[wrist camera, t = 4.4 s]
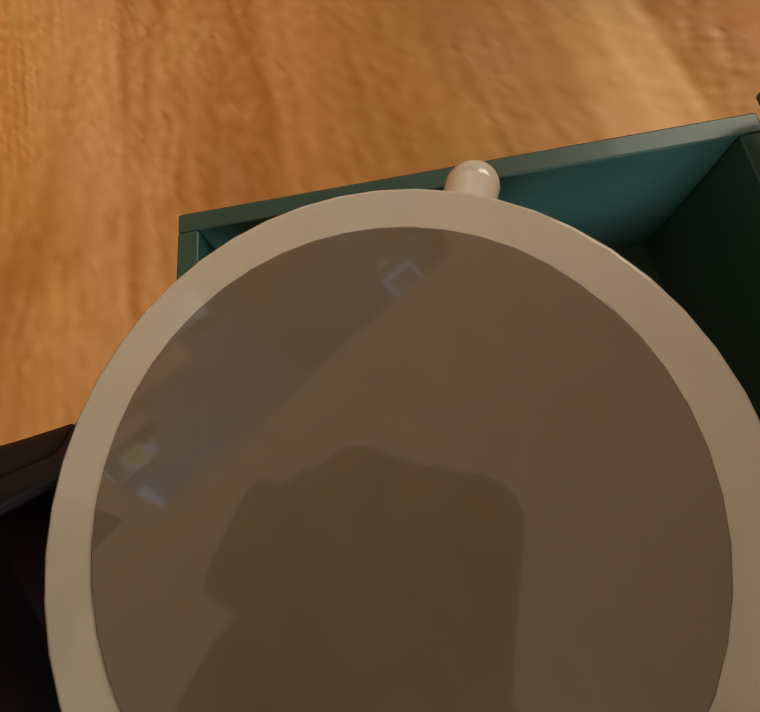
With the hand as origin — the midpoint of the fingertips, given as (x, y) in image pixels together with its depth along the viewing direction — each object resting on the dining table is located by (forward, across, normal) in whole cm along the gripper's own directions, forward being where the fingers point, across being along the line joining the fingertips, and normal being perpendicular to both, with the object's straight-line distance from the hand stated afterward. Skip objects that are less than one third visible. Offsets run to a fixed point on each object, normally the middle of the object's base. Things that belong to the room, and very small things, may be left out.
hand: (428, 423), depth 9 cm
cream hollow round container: (+4, 0, +4) cm, 6 cm away
